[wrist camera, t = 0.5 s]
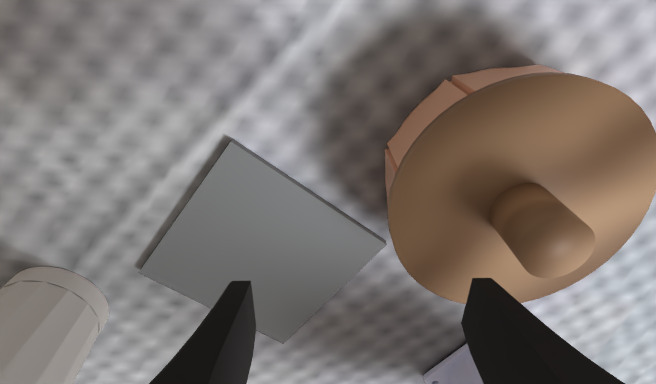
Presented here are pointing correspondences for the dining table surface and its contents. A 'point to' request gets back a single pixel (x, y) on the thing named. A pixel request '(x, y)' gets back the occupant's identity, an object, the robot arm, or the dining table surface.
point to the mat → (261, 243)
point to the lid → (523, 186)
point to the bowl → (439, 103)
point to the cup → (48, 325)
